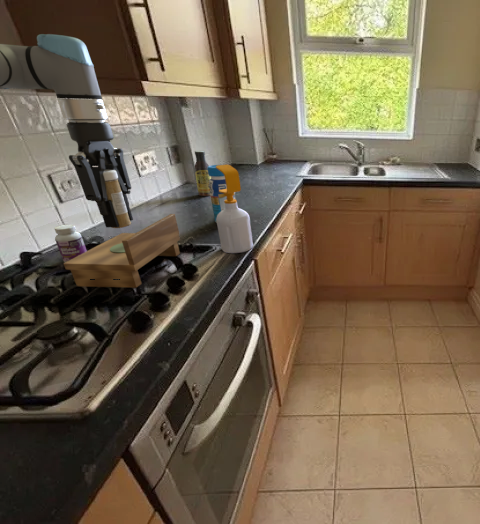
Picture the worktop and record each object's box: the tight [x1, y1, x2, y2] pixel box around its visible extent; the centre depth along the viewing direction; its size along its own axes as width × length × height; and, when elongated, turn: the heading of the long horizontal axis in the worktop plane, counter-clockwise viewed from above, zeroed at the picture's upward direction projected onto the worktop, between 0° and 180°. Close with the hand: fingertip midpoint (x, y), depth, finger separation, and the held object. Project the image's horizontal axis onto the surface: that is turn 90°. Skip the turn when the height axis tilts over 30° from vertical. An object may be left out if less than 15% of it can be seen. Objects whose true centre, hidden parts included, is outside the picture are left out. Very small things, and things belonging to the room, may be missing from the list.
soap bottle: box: [216, 164, 254, 254], centre depth 96 cm, size 9×9×25 cm
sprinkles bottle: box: [100, 170, 132, 229], centre depth 79 cm, size 5×5×14 cm
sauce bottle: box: [194, 150, 211, 197], centre depth 152 cm, size 6×6×20 cm
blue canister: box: [207, 164, 236, 224], centre depth 119 cm, size 8×8×20 cm
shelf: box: [63, 213, 181, 289], centre depth 85 cm, size 16×20×12 cm
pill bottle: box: [54, 224, 88, 263], centre depth 88 cm, size 5×5×10 cm
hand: (120, 223), depth 82 cm, fingers closed on sprinkles bottle, 4 cm apart
